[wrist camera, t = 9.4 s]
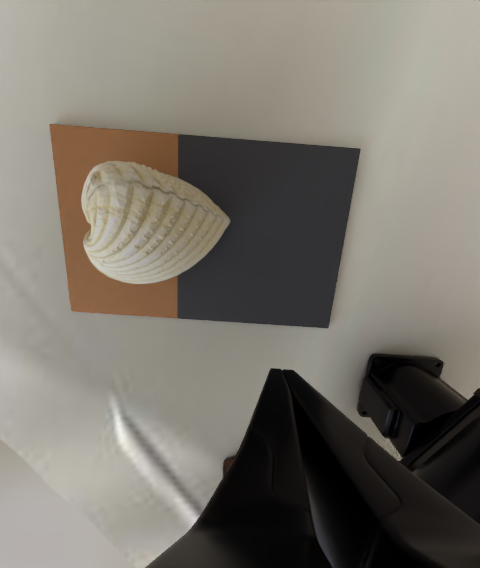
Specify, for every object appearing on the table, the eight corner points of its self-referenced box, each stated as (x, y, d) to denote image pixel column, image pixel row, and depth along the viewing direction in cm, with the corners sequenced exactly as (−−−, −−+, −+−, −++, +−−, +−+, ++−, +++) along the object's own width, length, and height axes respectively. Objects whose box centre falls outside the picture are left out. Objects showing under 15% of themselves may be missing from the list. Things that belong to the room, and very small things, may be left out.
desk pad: (358, 150, 17) (360, 148, 17) (326, 326, 21) (328, 328, 21) (53, 125, 17) (49, 123, 17) (74, 309, 21) (71, 311, 20)
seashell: (49, 155, 15) (120, 84, 11) (160, 203, 22) (230, 172, 18) (41, 282, 14) (117, 260, 10) (160, 290, 21) (235, 280, 17)
